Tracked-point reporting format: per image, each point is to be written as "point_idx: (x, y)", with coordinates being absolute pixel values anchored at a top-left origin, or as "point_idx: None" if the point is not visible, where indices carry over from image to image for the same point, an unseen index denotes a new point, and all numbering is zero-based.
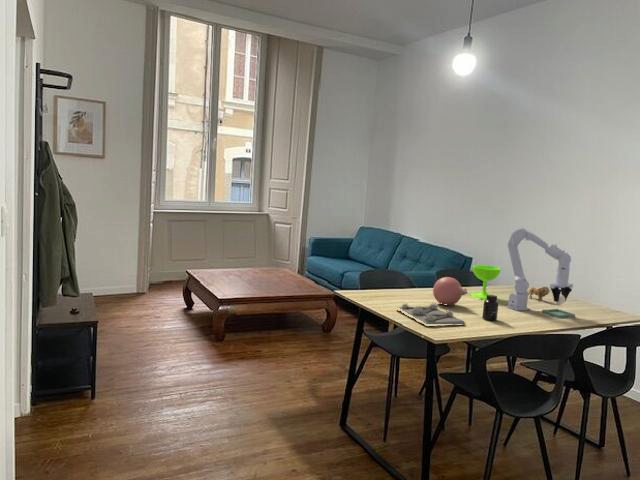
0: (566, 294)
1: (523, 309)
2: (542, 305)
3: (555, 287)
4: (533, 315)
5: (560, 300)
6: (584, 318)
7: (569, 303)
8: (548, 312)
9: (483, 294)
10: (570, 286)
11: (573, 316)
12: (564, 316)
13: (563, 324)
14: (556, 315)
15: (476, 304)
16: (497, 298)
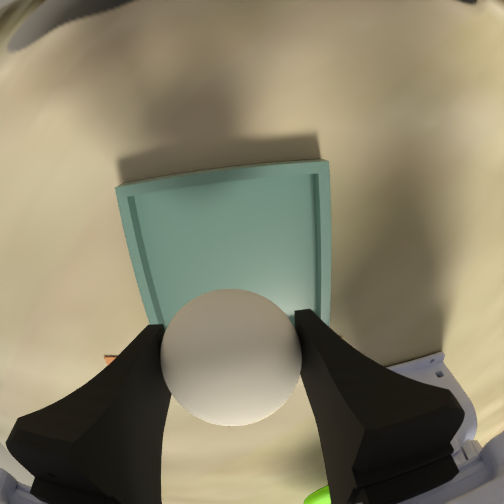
0: (128, 390)
1: (407, 365)
2: (170, 438)
3: (442, 484)
4: (449, 259)
5: (275, 308)
6: (73, 136)
7: (16, 417)
8: (329, 281)
9: None
10: (11, 492)
11: (137, 181)
12: (258, 164)
13: (424, 22)
14: (327, 195)
15: (477, 412)
16: (321, 490)
